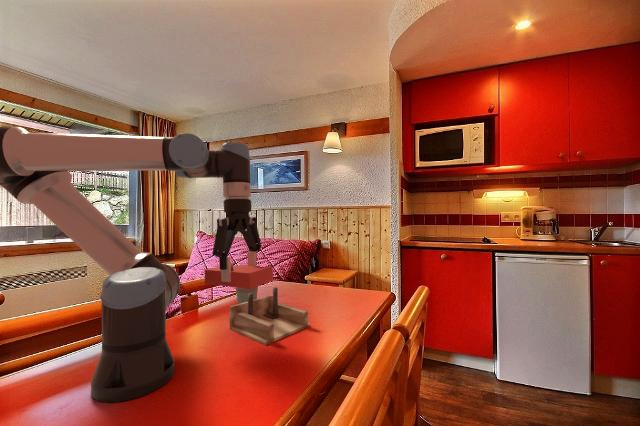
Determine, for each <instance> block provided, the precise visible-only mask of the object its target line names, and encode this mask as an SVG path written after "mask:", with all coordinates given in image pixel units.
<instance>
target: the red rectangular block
mask: <svg viewBox="0 0 640 426" xmlns="http://www.w3.org/2000/svg"><path fill="white" fill-rule="evenodd" d="M273 267H274V266H269V265H268V266H266V267H261V265H256V266H255V265H248V264H239V265H234V264H233V263H231V282H222V281H221V270H220V265H219V266H216V267H211V268H206V269H204V284H205V285H208V286H209V285H211V286H220V287H229V288H236V287H237V288H246V289H251V288H254V287H257V286H258V287H259V286H261V285H264V284H268V283H270V282H273V281H274V274H273V273H274V272H273V271H274V268H273Z"/></svg>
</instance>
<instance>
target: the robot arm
mask: <svg viewBox="0 0 640 426" xmlns="http://www.w3.org/2000/svg"><path fill="white" fill-rule="evenodd" d="M69 171H73V172H75V171H77V172H78V171H79V172H82V171H83V172H84V171H85V172H86V171H92V172H93V171H94V172H96V171H97V172H98V171H100V172H101V171H102V172H103V171H104V172H105V171H109V172H110V171H112V172H113V171H119V172H120V171H126V172H127V171H130V172H131V171H132V172H133V171H168V172H169V171H171V172H175V175H176V176H177V177H178V178H186V179H187V178H188V179H199V178H200V179H202V178H203V179H205V178H206V179H209V178H212V179H215V178H216V179H219V178H220V179H221V178H222V189H223V190H222V191H223V193H222V194H223V198H224V200H223V211H224V213H225V214H226V215H225V217H224V218H223V217H221V218H220V217H219V218H217V219H216V232H215V238H214V242H213V248H212V253H211V254H212V256H215V257H216V258H218V260H219V263H218V264H219V266H220V270H221V281H222V282H231V264H232V263H231V256H229V254H230V251H231V248H232V245H233V243H234V240H235V237H236V236H237V234H238V233H240V234H241V235H242V237H243V239H244V242H245V244H246V247H247V248H248V251H247V253H246V254H247V255H246V256H247V257H246V258H247V265H255V266H257V261H258V259H257V258H258V257H257V255H258V253H257V252H260V251H261V248H262V242H261V237H260V233H259V229H258V225H257V224H258V223H257V222H258V220H257V217H256V216H250V213H251V212H252V200H251V199H250V198H251V197H252V193H251V158H250V148H249V147H248V145H247V144H245V143H243V142H237V141H236V142H234V141H233V142H224V143H223V144H222V146H221V149H219V150H209V149H208V146H207V145H206V143H205V142H204V141H203V140H202V139H201V138H200V137H199V136H198V135H197V134H196V135H195V134H193V133H189V132H182V133H180V134H179V133H178V134H177V135H176V136H174V137H173V136H142V135H141V136H140V135H139V136H137V135H135V136H134V135H115V134H114V135H111V134H110V135H109V134H106V135H105V134H79V133H49V132H47V133H46V132H29V131H27V129H25V128H23V127H20V126H19V127H18V126H0V186H1V187H2V188H3V189H5V191H7V192H8V193H9V194H10V195H11V196H12V197H13V198H15V199H16V200H17V201H18V203H21V204H27V205H34V207H36V208H37V209H38V210H39V211H40V212H41V213H42V214H44V216H45V217H46V218H48V219H49V220H50V221H51V222H52V223H53V224H54V225H55V226H56V227H57V228H58V229H59V230H60V231H61V232H62V233H64V235H66V236H67V237H68V238H69V239H70V241H72V243H74V244H75V245H77V246H78V248H80V249H81V250H82V251H83V253H85V254H86V255H87V256H88V257H89V258H90V259H92V261H93V262H95V263H96V264H97V265H98V266H99V267H100V268H101V269H102V270H103V271H104V272H105V273H106V274H108V275H109V276H107V277H106V278H105V279H104V280H103V282H102V286H101V292H100V293H101V294H100V302H101V353H100V356H99V359H98V362H97V365H96V367H95V371H94V373H93V375H92V379H91V381H90V395H91V397H92V398H93V400H95V401H98V402H102V403H118V402H124V401H125V402H126V401H130V400H134V399H137V398H140V397H143V396H146V395H147V394H148V395H149V394H151V393H153V392H154V391H156V390H158V389H160V388H162V387H163V386H165V385H166V384H167V383H169V381H171V379H173V377H174V375H175V371H176V370H175V360H174V356H173V353H172V351H171V349H170V346H169V344H168V341H167V338H166V337H167V335H166V333H167V332H166V331H167V330H166V329H167V328H166V325H167V324H166V323H167V322H166V320H167V319H166V317H167V316H166V313H167V312H166V311H167V309H168V307H169V306H170V305H171V304H172V303H173V302H174V301H175V300H176V299H177V296H178V294H179V291H180V288H181V279H180V276H179V273H178V272H177V271H176V269H175V268H174V267H172V266H171V265H168V264H166V263H162V261H160V260H159V259H158V258H157V257H156V256H155V255H154V254H153V253H152V252H144V251H143V252H142V251H141V250H140V249H139V248H138V247H137V246H136V245H135V244H134V243H133V242H132V241H131V240H129V238H128V237H127V236H126V235H125V234H123V233H122V231H120V230H119V229H118V227H116V226H115V225H114V223H112V222H111V221H110V220H109V219H108V218H107V217H106V215H104V214H103V213H102V212H101V211H100V210H99V209H98V208H97V207H96V206H95V205H94V204H92V202H91V201H89V199H88V198H86V197H85V196H84V195H83V194H82V193H81V192H80V190H79V189H77V188H76V187H75V186H74V185H73V184H72V178H73V175H72V174H71V172H69Z"/></svg>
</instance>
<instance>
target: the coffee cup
mask: <svg viewBox="0 0 640 426" xmlns="http://www.w3.org/2000/svg"><path fill="white" fill-rule="evenodd" d="M258 288H259V286H257V287H254V288H251V289H246V288H237V287H235V293H236V300H237V302H236V303H237V304H240V303H244V302H248V294H250V293H252V294H253V300H255V299H258V291H259V290H258Z"/></svg>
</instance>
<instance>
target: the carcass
mask: <svg viewBox="0 0 640 426" xmlns="http://www.w3.org/2000/svg"><path fill="white" fill-rule="evenodd" d="M278 294H279V293H278V287H277V286H275V287H272V294H270V295H266V296H263V297H259V298H257V299H255V300H253V294H252V293H250V294H248V302H244V303H240V304H238V303H237V304H233V305H230V306H229V330H232V331H234V332H236V333H238V334H241V335H243V336H245V337H247V338H249V339H252V340H254V341H255V342H257V343H259V344H263V345H265V346H267V345H269V344H272V343H274V342H276V341H279V340H281V339H284V338H286V337H288V336H291V335H293V334H295V333H297V332H300V331H301V330H302V331H303V330H305V329H307V328H308V327H311V323H310V322H309V310H307V309H306V310H305V309H303V308H302V309H301V308H299V307H295V306H291V305H288V304H285V303H282V302H279V301H278V298H279V297H278Z"/></svg>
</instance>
